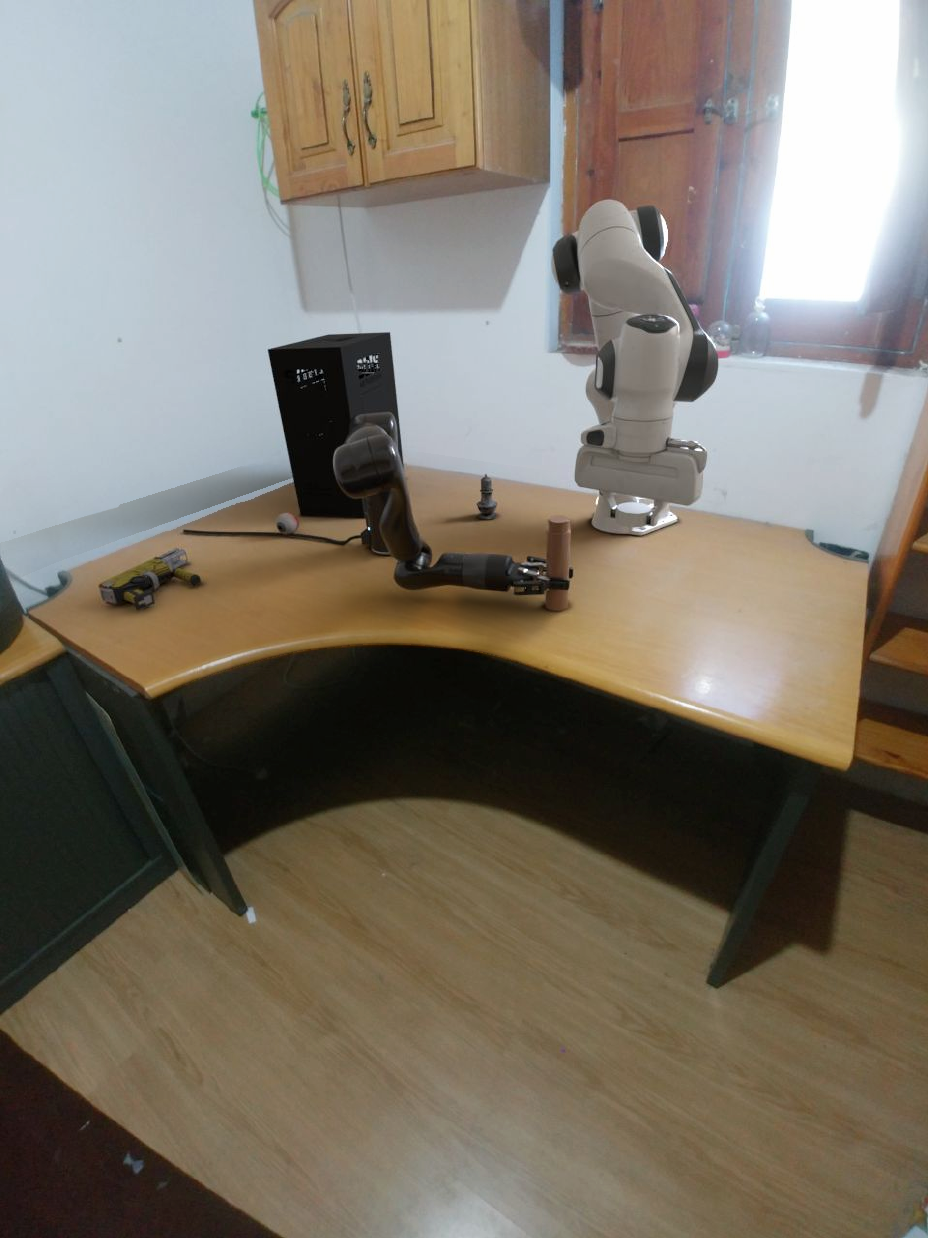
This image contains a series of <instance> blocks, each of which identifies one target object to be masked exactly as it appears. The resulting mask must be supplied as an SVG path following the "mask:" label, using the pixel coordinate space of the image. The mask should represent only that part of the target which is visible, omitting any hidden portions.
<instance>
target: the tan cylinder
mask: <svg viewBox="0 0 928 1238" xmlns="http://www.w3.org/2000/svg"><path fill="white" fill-rule="evenodd" d="M547 522H548V527H547V528H546V546H545V548H546V549H545V550H546V553H545V554H546V555H545V559H546V572H545V573H546V577H549V578H551V577H553V578H565V579H569V567H570V563H571V562H570V561H571V560H570V559H571V538H572V537H571V535H572V534H571V533H572V529H571V527H570V523H571V520H570V517H568V516H565V515H561V514H560V515H552V516H550V517H548V519H547ZM569 580H570V579H569ZM544 594H545V595H544V596H545V598H544V599H545V600H544V601H545V602H544V606H545V608H546V609H548V610H550V611H555V612H558V611H564V610H566V609H568V607H569V589H568V590H557V589H549V590H548V591H545V592H544Z"/></svg>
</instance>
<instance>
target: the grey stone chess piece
mask: <svg viewBox="0 0 928 1238" xmlns="http://www.w3.org/2000/svg"><path fill="white" fill-rule="evenodd" d="M479 492H480V496H481V497H480V501H478V502H476V507H477V510H478V511H479V512H480V513H479V514H478V515H477V517H478V518H479V519H481V520H492V519H495V518H496V517H497V513H495V511H496V510H497V506H498V501H496V500H494V499H493V492H494V489H493V487H492V478H491V477H489V476H488V474H487V473H485V474H484V476H483V477H482V478H481V479H480V490H479Z"/></svg>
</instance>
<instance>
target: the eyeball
mask: <svg viewBox="0 0 928 1238" xmlns="http://www.w3.org/2000/svg"><path fill="white" fill-rule="evenodd" d="M299 525H300V522H299V519H298V517H297V516H296V515H295V514H294V513H292V512H287V511H286V512H282V513H280V514H279V515H278V516H277V517H276V520H275V527H276V529H277V530H278V532H279V533H283V534H291V533H294V534H295V533H296V532H297V531H298V529H299Z"/></svg>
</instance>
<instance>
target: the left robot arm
mask: <svg viewBox="0 0 928 1238" xmlns="http://www.w3.org/2000/svg"><path fill="white" fill-rule="evenodd" d="M333 468H334V474H335V477H336V480H337V482H338V484H339V486H340V488H341V489H342V491H343V492H344V493H345V494H346V495H347V496H349V497H351V498H354V499H360V498H365V502H366V510H367V511H366V512H365V525H366V528H364V530H362V531H361V532H360V534H357V535H353V536H349V537H347V539H346V540H337V539H332V538H329V537H325V536H319V535H311V534H303V533H295V532H294V533H291V534H283V533H281V532H279V531H278V532H277V531H275V532H274V531H216V530H215V531H213V530H195V529H182V532H183V533H187V534H199V535H220V536H222V535H225V536H227V535H228V536H229V535H230V536H281V537H292V538H293V537H295V538H305V539H312V540H320V541H325V542H329V543H331V544H332V543H333V544H337V545H346V544H349V543H350V542H351V541H353V540H357V539H360V542H361V545H363V546H368V547H369V549H370V550H371V552H373V553H374V554H375V555H379V556H391V557H392V558H393V559H394V560H396V564H395V568H394V571H393V581H394V582H395V584H396V585H397V586H398V587H400V588H401V589H403V590H407V591H412V592H413V591H415V592H416V591H424V590H428V589H433V588H439V587H444V586H450V587H462V588H469V589H474V590H480V591H481V590H482V591H492V592H501V593H503V592H504V593H508V592H509V591H510V590H511V589H512V588H513V596H537V595H538V596H539V595H540V596H541V595H544V594H545V592H546V591H548V590H549V589H557V590H568V591H569V589H570V584H571V583H570V582H571V581H570V579H573V578H574V568H573V566H572V567H571V566H569V579H565V578H553V577H551V578H549V577H546V558H544V557H543V558H542V557H538V556H532V555H528V556H526V560H525V561H517V562H516V561H514V559H513V557H512V555H510V554H501V553H499V554H497V553H487V552H471V553H469V552H468V553H467V552H455V551H445V552H443V553H442V554H441V555H440V556H439V558H438V559H437V560H436V561H435V564H434V565H432V566H431V564H432V561H433V550H432V548H431V546H430V545H429V544H428V543H427V542H426V541H425V540H424V539H423V537H421V535H420V532H419V529H418V526H417V524H416V522H415V518H414V514H413V510H412V502H411V497H410V492H409V488H408V483H407V477H406V475H405V474H406V473H405V468H404V469H403V465H402V462H401V458H400V455H399V452H398V437H397V426H396V420H395V417H394V415H393V414H392V413H391V412H376V413H363V414H358V415H355V416H353V417H352V419H351V421H350V426H349V434H348V436H347V438H346V441H345V443H344V444H343V445H341V446H339V447H338V448H337V449H336V450H335V452H334V456H333Z"/></svg>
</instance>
